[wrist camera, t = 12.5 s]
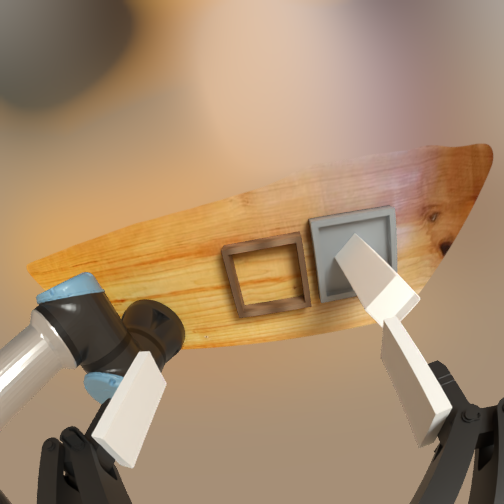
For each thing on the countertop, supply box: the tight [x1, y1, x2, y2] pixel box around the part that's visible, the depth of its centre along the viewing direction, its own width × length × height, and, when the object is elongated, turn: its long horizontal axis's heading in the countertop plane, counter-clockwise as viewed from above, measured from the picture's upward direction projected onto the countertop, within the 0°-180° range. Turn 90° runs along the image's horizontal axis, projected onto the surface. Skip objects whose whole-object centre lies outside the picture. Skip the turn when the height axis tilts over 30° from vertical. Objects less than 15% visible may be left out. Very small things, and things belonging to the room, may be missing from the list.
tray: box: [309, 205, 397, 303], centre depth 48 cm, size 16×16×2 cm
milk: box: [335, 233, 420, 328], centre depth 39 cm, size 6×6×22 cm
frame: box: [221, 232, 311, 318], centre depth 51 cm, size 14×14×3 cm
